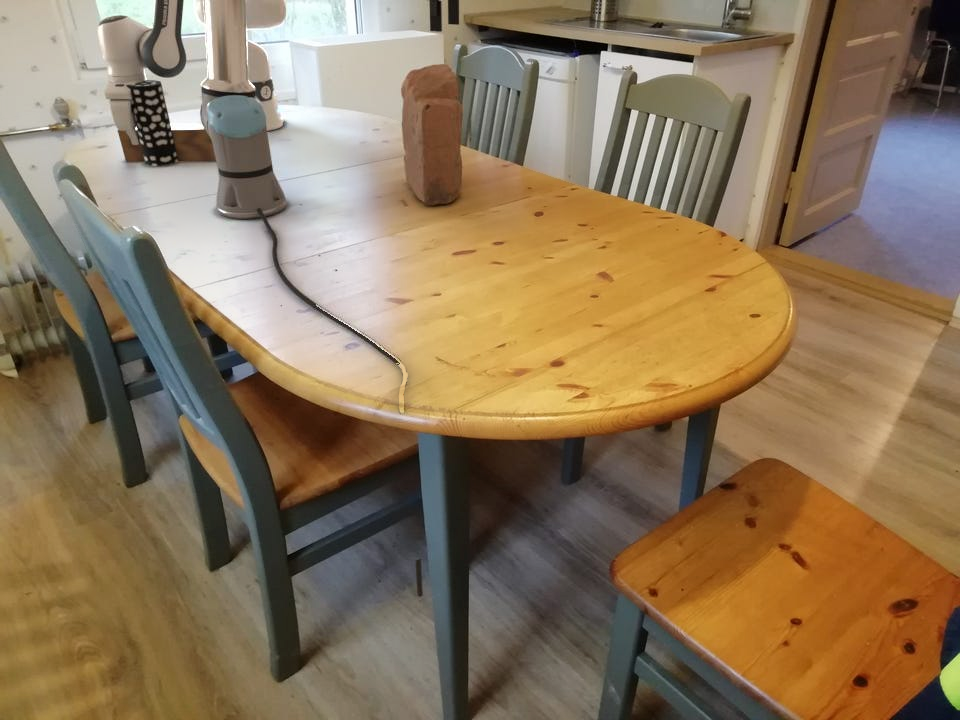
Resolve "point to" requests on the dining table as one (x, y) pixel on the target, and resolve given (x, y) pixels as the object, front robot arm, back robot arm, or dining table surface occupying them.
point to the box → (176, 144)
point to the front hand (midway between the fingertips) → (445, 27)
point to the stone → (432, 134)
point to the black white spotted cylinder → (153, 123)
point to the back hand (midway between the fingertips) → (143, 139)
